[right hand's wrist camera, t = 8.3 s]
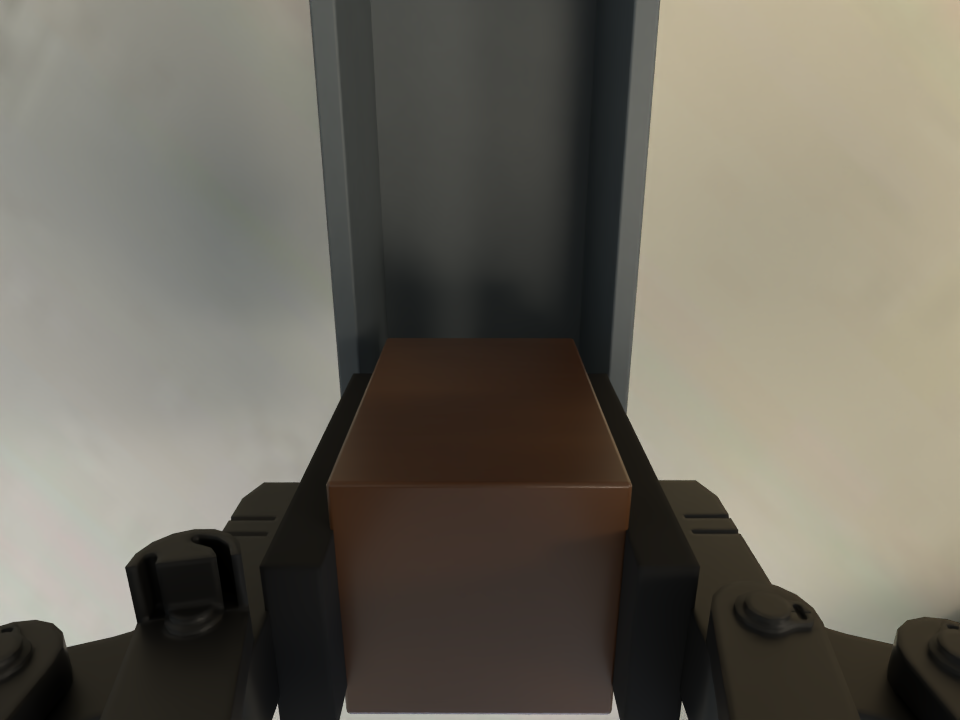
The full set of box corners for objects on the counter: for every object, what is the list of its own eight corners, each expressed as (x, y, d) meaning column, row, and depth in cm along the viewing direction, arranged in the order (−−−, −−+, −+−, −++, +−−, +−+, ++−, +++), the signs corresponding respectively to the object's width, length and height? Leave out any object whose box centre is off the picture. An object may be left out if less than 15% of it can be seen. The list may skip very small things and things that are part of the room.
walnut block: (573, 337, 14) (633, 483, 9) (565, 499, 16) (612, 716, 10) (386, 337, 14) (325, 483, 9) (394, 498, 16) (345, 716, 10)
